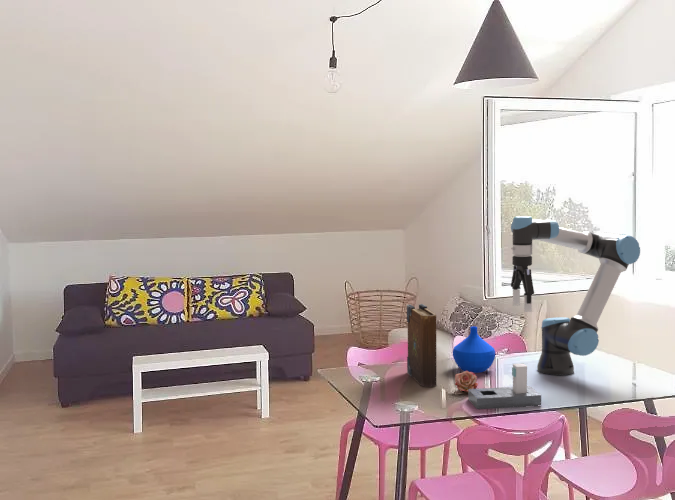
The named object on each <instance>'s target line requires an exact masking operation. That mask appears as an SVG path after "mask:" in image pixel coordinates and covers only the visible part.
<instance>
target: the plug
mask: <svg viewBox="0 0 675 500" xmlns="http://www.w3.org/2000/svg"><path fill="white" fill-rule="evenodd" d="M511 376H512V387H513V392H514V393H515V394H521V393H527V386H528V366H527V365H526V364H524V363H513V364H512V367H511Z"/></svg>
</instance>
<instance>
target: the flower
mask: <svg viewBox="0 0 675 500" xmlns="http://www.w3.org/2000/svg"><path fill="white" fill-rule="evenodd" d="M477 381H478V376H477V375H476V373H473V372H469V371H462V372H460V373H456V374H455V376H454V385H455V386H456V388H457V390H458V391H460V390H461V391H460V392H462V391H464V392H467V393H468V389H478V386H479V383H478V382H477Z"/></svg>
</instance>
